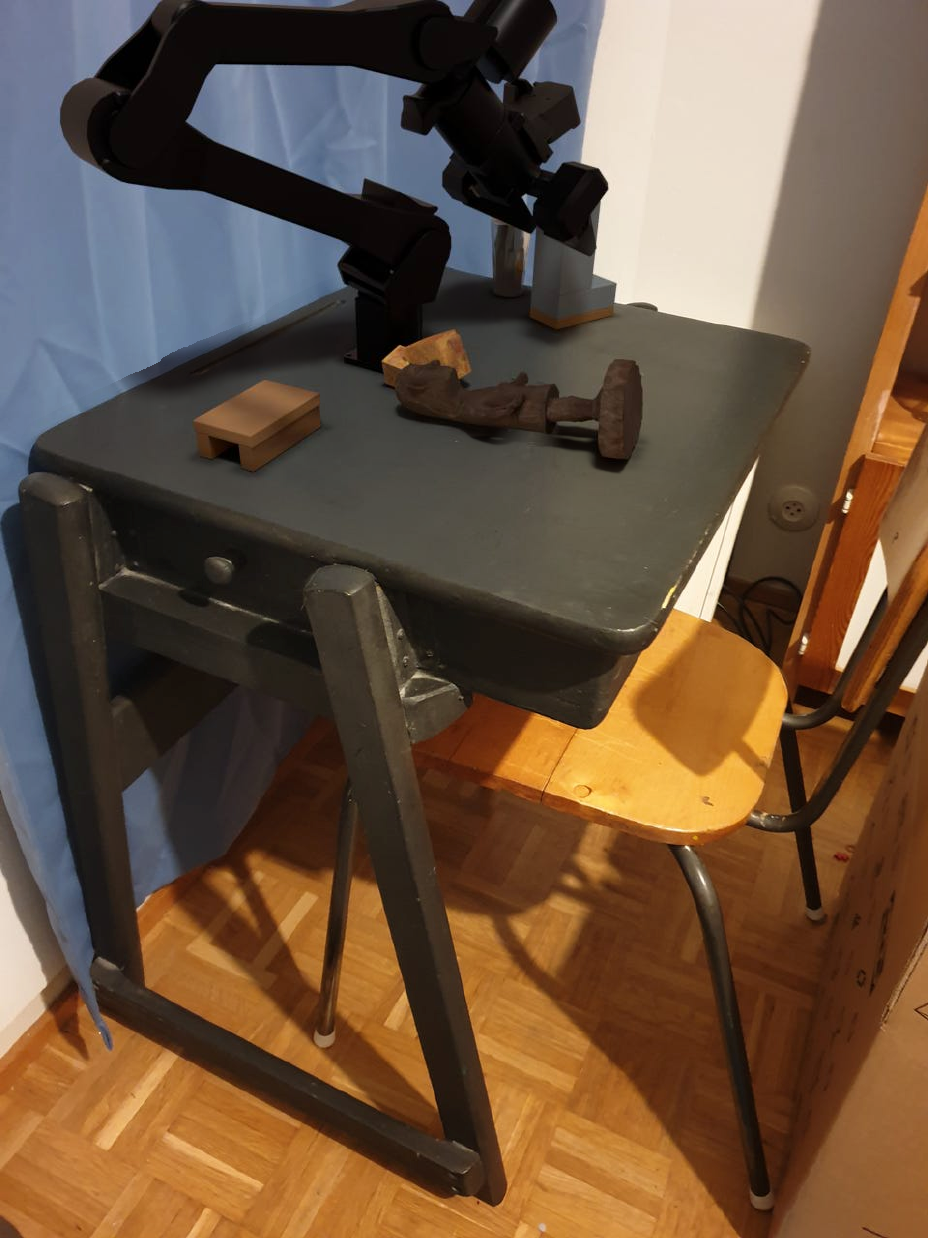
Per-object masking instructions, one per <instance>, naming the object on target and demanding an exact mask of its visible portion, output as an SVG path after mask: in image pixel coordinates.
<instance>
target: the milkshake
mask: <svg viewBox="0 0 928 1238" xmlns="http://www.w3.org/2000/svg"><path fill="white" fill-rule="evenodd" d="M490 231H491V254H492V255H491V257H492V258H491V259H492V261H491V262H492V292H493V293H494V294H495V296H499V297H502V298H515V297H520V296H521V295H522V294H523V291H524V290H523V289H524V285H525V284H524V283H525V275H526V269H527V268H526V267H527V262H528V254H529V246H530V239H531V234H529V233H526V232H524V231H522V230H520V229H517V228H515V227H513V226H511V225H509V224H506V223H504V222H502V221H499V220H497V219H495V218H493V217H491V216H490Z"/></svg>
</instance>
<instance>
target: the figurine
mask: <svg viewBox="0 0 928 1238" xmlns="http://www.w3.org/2000/svg"><path fill="white" fill-rule="evenodd" d="M528 383H529V375H528V373H526V372H525V371H519V373H518V375H517V377H516V378H515V379H514V380H513V381H510V382H508V381H501V382H499V384H497V385H493V386H486V387H483V388H481V387H480V388H475V389H472V390H469V389H466V388H464V387H463V386H462V385H461V382H460V379H459V377H458V373H457V371H456V369H455V368H453V367H450V366H448V365H447V366H441V364H440V360H439V359H437V360H433V361H431V362H430V363H428V364H425V365H417V364H411V365H407V366H405V367H404V368H403V369H402V370H401V371H400V372H399V373H398V375H397V377H396V379H395V387H394V391H395V392H394V393H395V396H396V399H397V400H398V401H399V403H400V404H401V405H402V406H403V407H404V408H406V409H408V410H409V411H411V412H413V413H416V414H419V415H423V416H427V417H431V418H438V419H443V420H448V421H455V422H460V423H466V424H471V425H472V424H473V425H477V426H478V425H479V426H486V427H494V428H495V427H496V428H504V429H510V430H511V429H512V430H519V431H524V432H532V433H540V434H545V435H552V434H554V431H555V428H556V425H557V423H559V422H561V423H562V422H569V423H584V422H589V421H594V422H598V434H597V435H598V437H597V444H598V449H599V453H600V455H601V456H602V457H603V458H609V459H610V458H611V459H618V460H629V459H630V458H631V455H632V454H633V450H634V447H636V444H637V441H638V439H639V434H640V431H641V427H642V420H643V410H644V409H643V406H644V401H643V396H644V395H643V394H644V391H643V386H642V374H641V373H640V366H639V364H637V361H636V360H634V359H624V358H615V359H613V360H612V362H611V363H610V364H609V365H608V367H607V371H606V372H605V375H604V378H603V382H602V387H601V388H600V390H599V392H598V393H597V394H596V397H594V398H593V399H591V398H583V397H579V396H574V395H569V396H563V397H560V390H559V388H558V386H557V385H556V384H555V383H549V384H548V383H547V384H540V385H536V384H535V385H533V384H528Z"/></svg>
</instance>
